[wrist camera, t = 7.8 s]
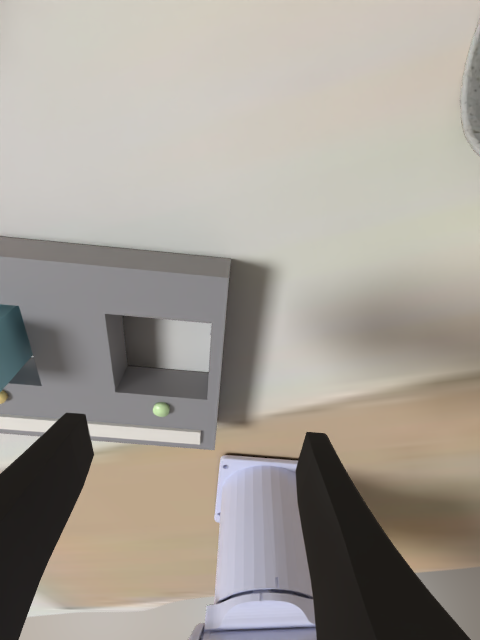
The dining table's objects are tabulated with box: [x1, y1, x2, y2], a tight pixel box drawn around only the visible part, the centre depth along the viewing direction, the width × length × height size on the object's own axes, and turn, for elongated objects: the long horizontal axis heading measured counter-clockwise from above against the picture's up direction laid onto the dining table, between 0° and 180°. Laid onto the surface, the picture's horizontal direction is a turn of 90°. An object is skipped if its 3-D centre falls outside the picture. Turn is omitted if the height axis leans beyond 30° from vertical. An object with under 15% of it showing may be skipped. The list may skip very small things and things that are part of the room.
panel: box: [0, 237, 231, 450], centre depth 21 cm, size 13×17×3 cm
